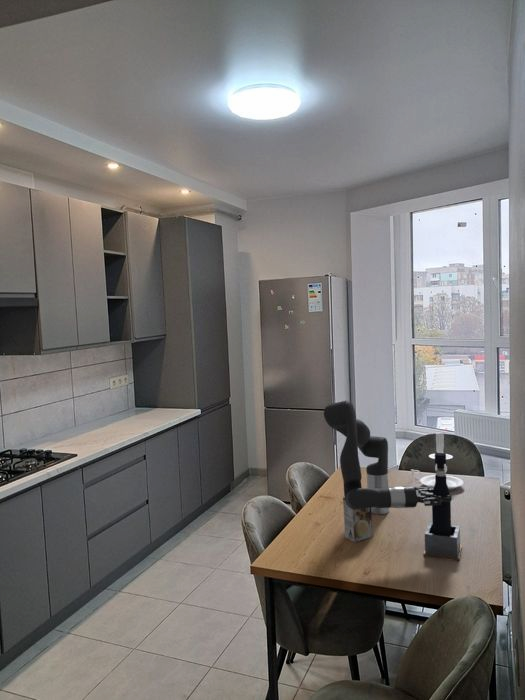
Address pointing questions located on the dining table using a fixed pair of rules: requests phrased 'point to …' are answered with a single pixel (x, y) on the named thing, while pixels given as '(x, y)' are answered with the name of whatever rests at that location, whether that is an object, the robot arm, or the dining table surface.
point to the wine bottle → (443, 511)
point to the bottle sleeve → (443, 544)
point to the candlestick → (430, 480)
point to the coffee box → (357, 523)
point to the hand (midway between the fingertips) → (447, 495)
